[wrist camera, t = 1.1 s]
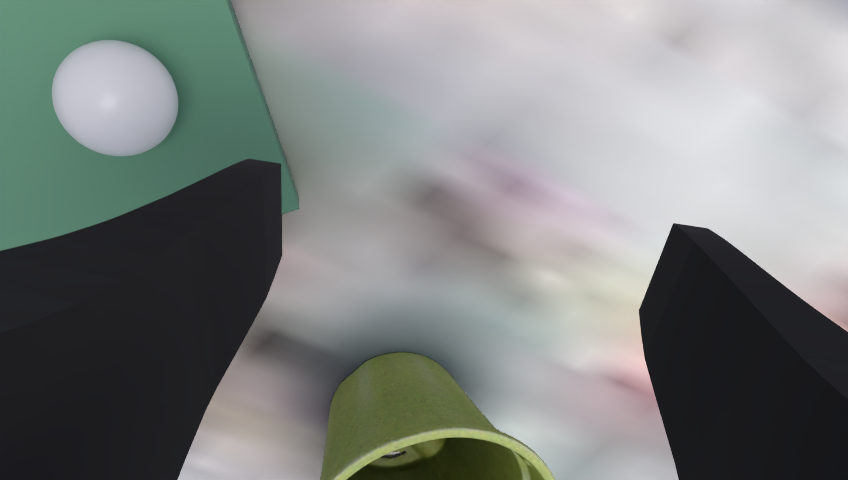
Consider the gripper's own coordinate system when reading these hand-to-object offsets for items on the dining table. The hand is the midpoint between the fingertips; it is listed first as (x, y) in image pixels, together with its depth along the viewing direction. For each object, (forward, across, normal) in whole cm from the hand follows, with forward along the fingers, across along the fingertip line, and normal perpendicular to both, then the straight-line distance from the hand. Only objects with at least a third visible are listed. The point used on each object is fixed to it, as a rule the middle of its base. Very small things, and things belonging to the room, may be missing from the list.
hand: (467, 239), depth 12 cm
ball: (+8, +11, +2) cm, 14 cm away
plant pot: (+11, +1, +16) cm, 20 cm away
